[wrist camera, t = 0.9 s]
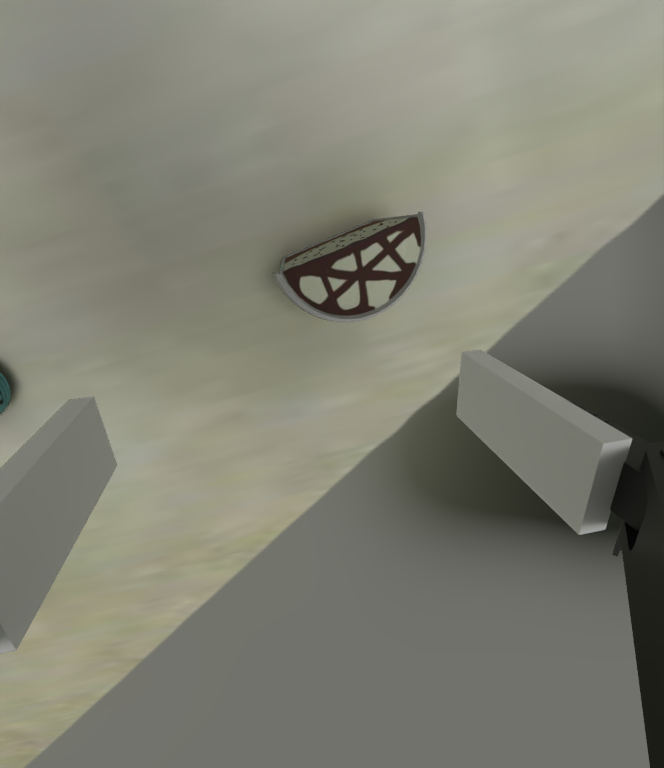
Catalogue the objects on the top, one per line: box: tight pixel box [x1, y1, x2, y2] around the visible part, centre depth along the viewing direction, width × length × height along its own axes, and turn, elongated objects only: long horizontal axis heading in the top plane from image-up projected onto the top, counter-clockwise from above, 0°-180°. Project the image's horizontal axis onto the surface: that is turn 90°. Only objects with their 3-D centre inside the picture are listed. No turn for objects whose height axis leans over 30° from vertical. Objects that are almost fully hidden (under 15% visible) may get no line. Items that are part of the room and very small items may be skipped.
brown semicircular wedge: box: [272, 212, 426, 322], centre depth 34 cm, size 12×6×10 cm, turn 111°
